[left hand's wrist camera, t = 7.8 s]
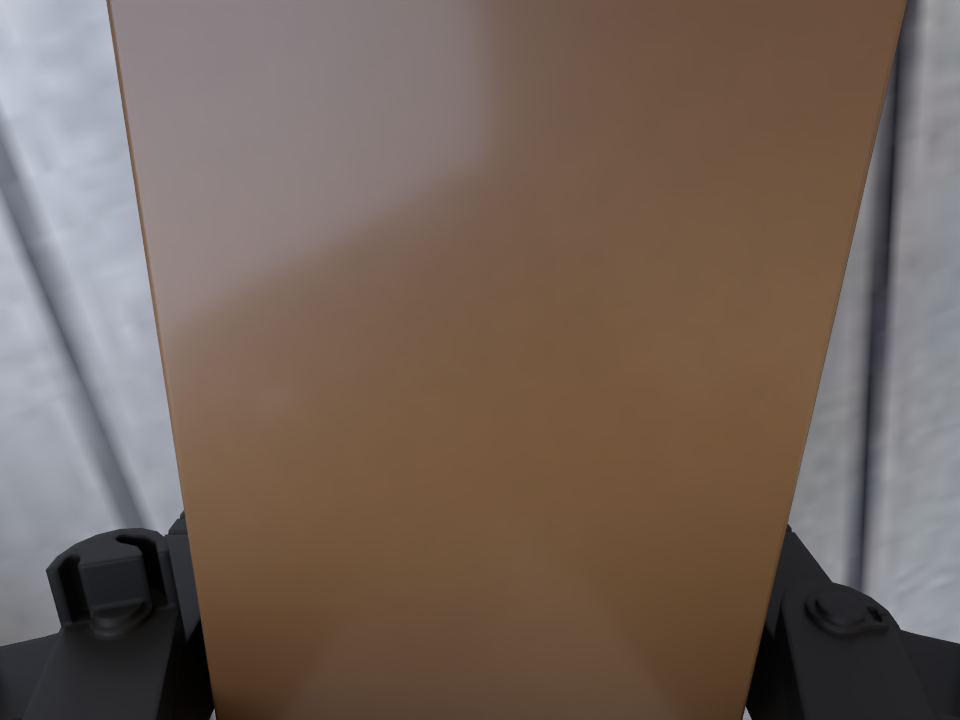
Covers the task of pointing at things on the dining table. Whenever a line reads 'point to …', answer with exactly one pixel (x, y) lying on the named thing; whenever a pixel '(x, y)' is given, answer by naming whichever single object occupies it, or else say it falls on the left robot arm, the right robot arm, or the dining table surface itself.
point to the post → (494, 335)
